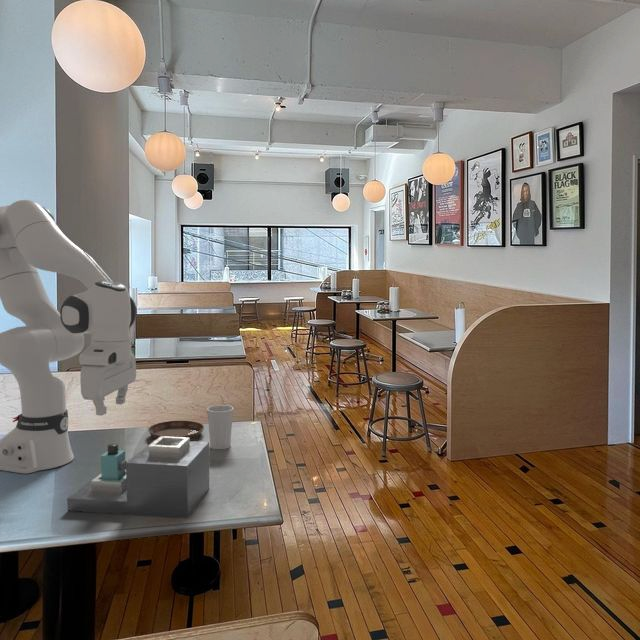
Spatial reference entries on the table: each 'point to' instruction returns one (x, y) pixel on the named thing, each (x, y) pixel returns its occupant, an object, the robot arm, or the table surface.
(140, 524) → the table surface
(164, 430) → the plant saucer
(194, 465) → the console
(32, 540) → the table surface
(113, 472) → the plug
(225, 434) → the cup
